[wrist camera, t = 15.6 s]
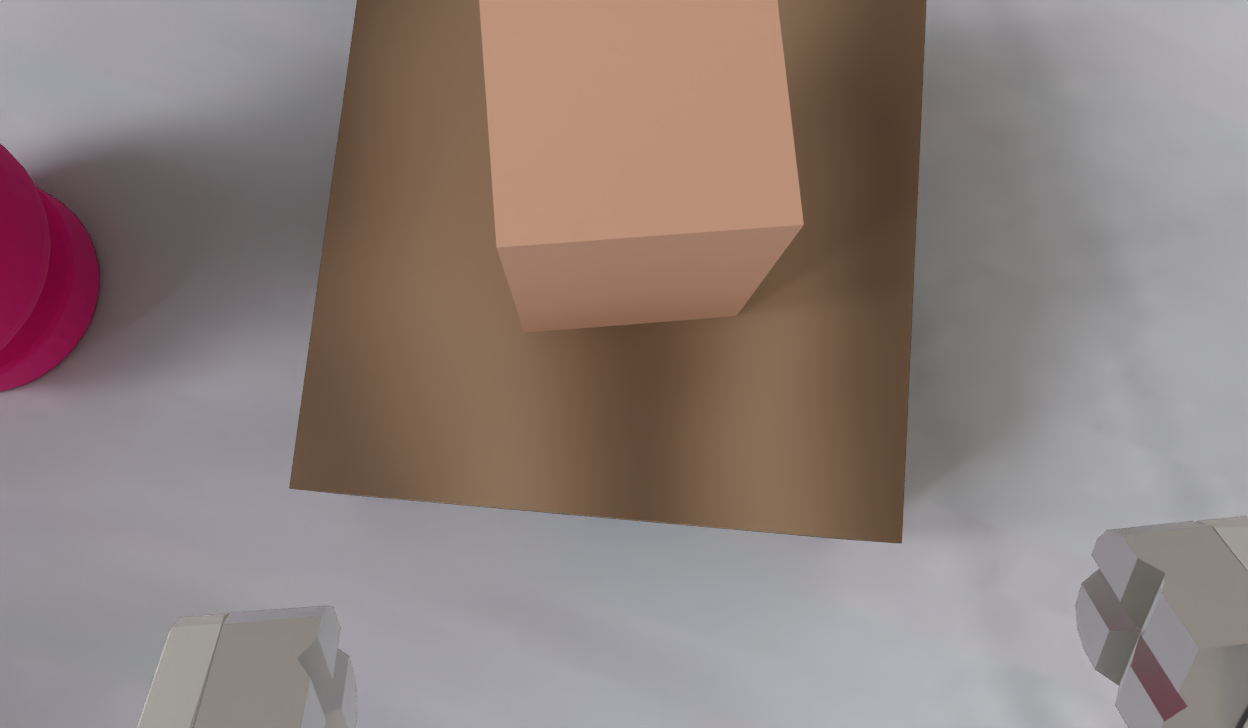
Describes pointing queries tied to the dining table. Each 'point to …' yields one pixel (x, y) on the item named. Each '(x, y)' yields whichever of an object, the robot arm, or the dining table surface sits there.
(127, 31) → the dining table surface
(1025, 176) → the dining table surface
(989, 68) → the dining table surface
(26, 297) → the pepper mill
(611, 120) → the terracotta block
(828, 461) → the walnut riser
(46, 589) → the dining table surface
